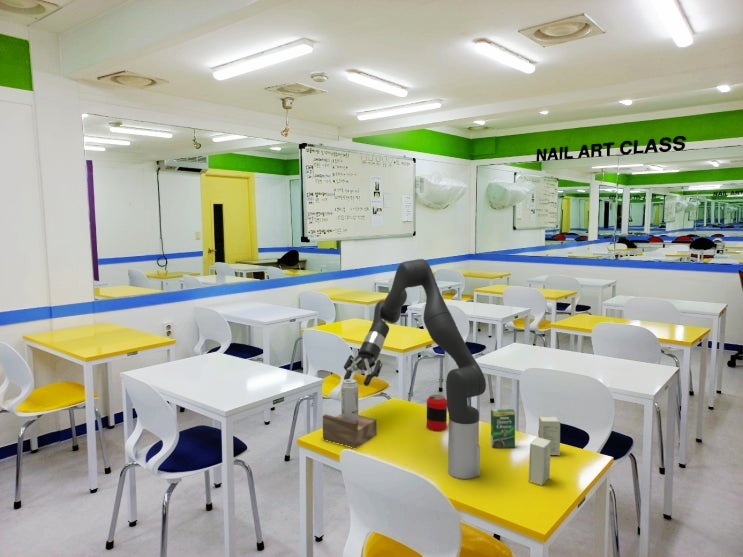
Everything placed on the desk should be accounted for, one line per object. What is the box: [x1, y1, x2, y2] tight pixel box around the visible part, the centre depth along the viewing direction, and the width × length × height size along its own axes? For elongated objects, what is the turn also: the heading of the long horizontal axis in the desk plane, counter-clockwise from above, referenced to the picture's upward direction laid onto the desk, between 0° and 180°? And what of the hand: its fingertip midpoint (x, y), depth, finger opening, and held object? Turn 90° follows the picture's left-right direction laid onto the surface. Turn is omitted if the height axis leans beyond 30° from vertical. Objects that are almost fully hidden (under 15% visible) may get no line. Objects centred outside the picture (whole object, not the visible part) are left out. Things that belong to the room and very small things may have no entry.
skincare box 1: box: [538, 416, 561, 455], centre depth 173 cm, size 6×4×12 cm
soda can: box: [426, 394, 448, 432], centre depth 195 cm, size 8×8×12 cm
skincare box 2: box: [528, 436, 551, 485], centre depth 155 cm, size 6×4×12 cm
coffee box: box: [490, 408, 516, 449], centre depth 178 cm, size 8×3×13 cm, turn 90°
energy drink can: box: [340, 378, 359, 422], centre depth 185 cm, size 6×6×15 cm
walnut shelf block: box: [322, 413, 378, 449], centre depth 186 cm, size 14×14×9 cm
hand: (355, 383), depth 188 cm, fingers open, 8 cm apart
